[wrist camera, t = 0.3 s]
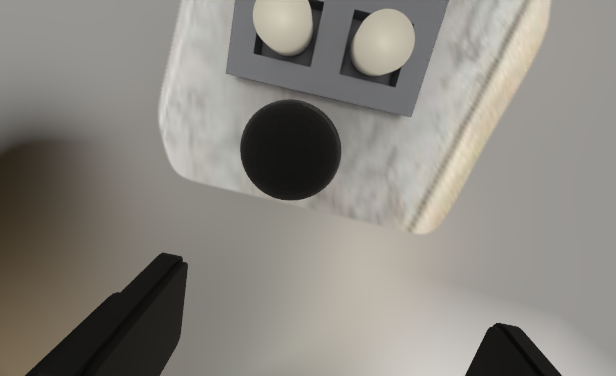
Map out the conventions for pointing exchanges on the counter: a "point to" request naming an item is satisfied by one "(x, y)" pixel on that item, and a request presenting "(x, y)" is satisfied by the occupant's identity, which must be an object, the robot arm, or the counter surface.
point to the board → (338, 53)
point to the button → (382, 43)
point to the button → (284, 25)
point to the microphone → (290, 150)
